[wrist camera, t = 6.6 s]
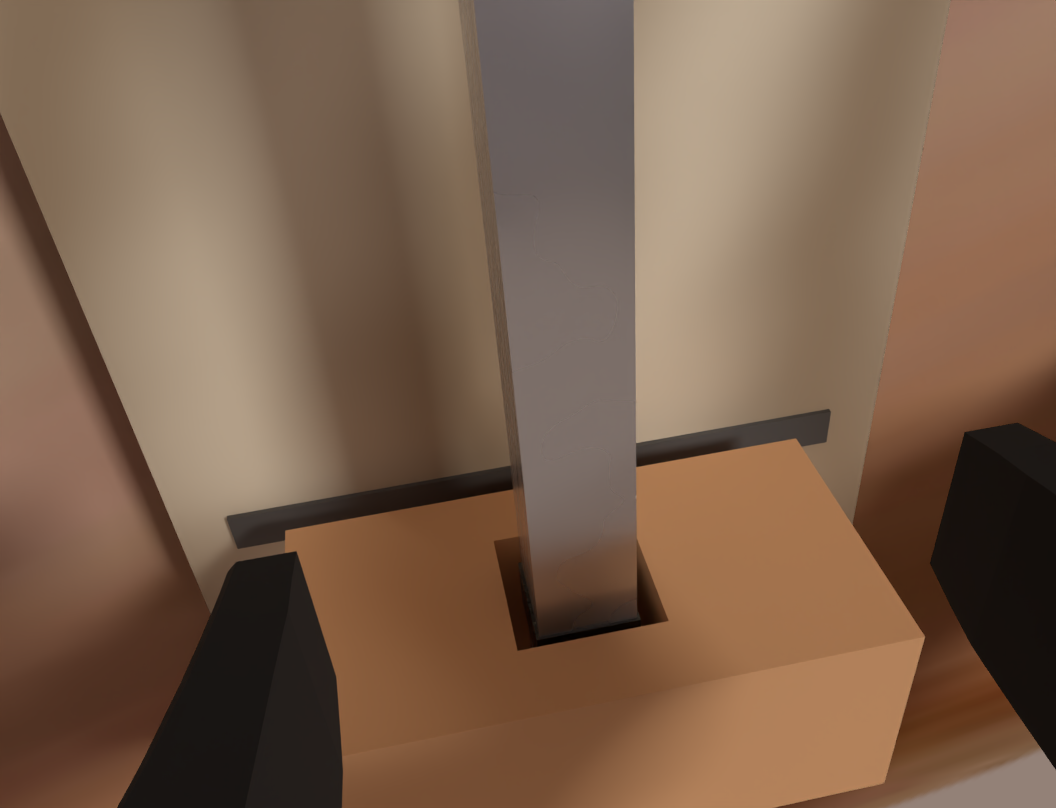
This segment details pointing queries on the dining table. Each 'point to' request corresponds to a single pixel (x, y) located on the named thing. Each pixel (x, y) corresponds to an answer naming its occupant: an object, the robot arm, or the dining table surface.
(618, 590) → the rod
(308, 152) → the board
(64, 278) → the dining table surface
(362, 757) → the collar
